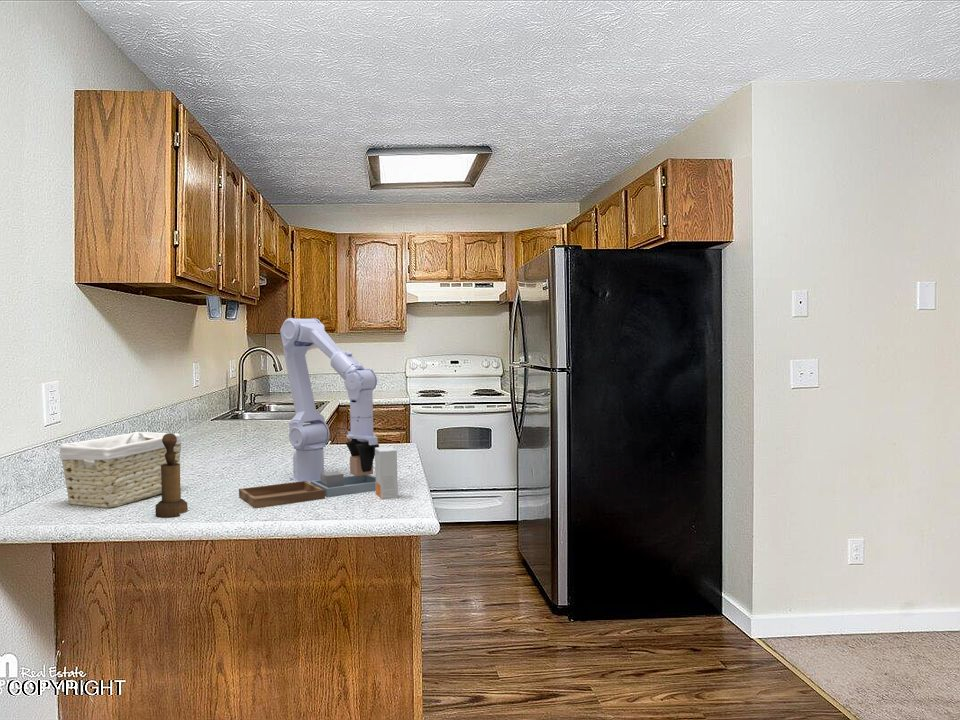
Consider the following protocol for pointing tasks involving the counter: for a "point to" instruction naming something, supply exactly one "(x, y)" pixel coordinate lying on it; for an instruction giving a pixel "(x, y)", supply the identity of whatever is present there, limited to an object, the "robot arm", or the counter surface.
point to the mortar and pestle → (170, 483)
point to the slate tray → (349, 485)
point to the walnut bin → (281, 494)
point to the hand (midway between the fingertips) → (362, 469)
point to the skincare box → (386, 472)
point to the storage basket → (115, 468)
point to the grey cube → (332, 479)
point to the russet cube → (357, 467)
